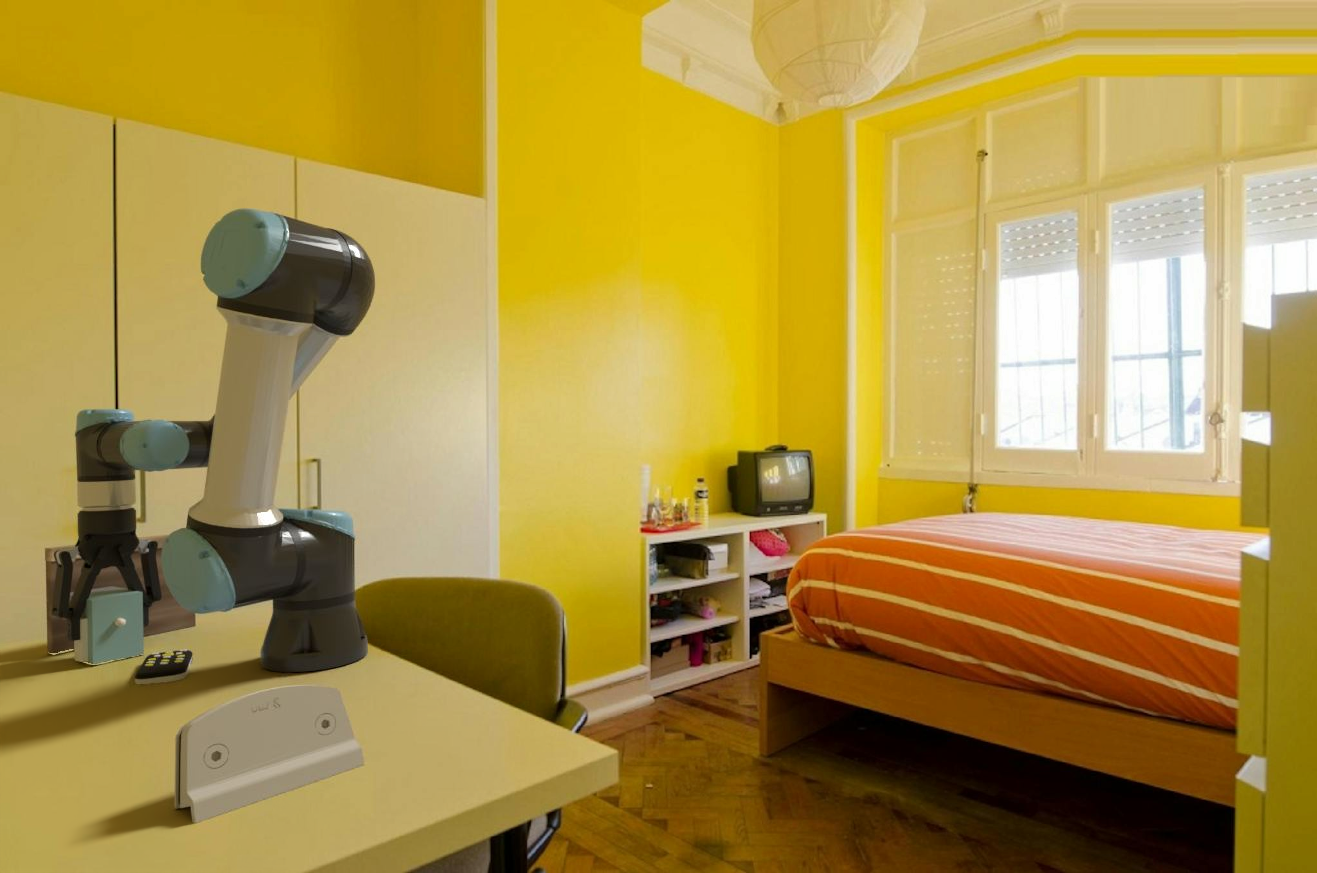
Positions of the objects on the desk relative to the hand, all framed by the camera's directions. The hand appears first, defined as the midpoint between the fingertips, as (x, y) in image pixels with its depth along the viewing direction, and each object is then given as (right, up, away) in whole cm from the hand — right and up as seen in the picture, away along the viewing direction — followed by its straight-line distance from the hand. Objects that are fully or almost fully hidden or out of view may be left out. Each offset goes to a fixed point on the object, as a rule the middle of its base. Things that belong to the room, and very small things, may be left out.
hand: (109, 654), depth 123 cm
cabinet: (-1, -1, +1) cm, 2 cm away
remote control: (+13, -1, -7) cm, 15 cm away
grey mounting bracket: (+47, -1, -45) cm, 65 cm away
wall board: (-5, -1, +12) cm, 13 cm away
